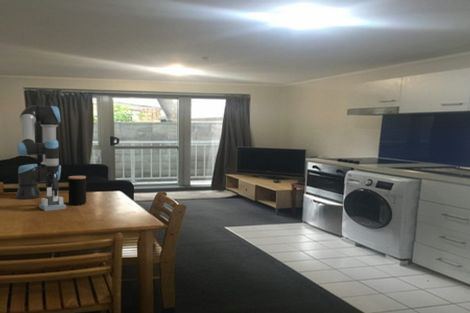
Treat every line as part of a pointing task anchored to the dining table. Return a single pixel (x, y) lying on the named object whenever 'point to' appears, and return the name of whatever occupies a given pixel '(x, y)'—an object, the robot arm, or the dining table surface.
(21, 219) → the dining table surface
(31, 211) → the dining table surface
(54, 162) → the robot arm
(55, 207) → the board
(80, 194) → the coffee jar
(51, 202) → the dark gray block
